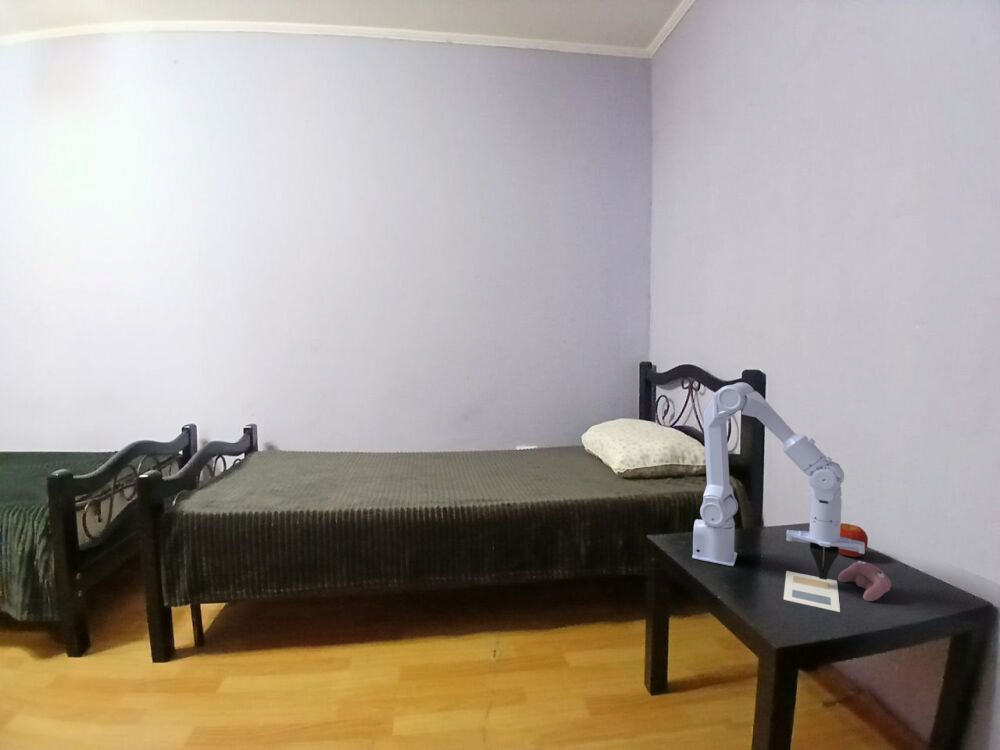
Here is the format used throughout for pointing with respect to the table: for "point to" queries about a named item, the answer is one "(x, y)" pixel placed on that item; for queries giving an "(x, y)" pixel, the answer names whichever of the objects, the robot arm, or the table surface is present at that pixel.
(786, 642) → the table surface
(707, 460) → the robot arm
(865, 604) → the table surface
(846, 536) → the apple
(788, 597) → the label card
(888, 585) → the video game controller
